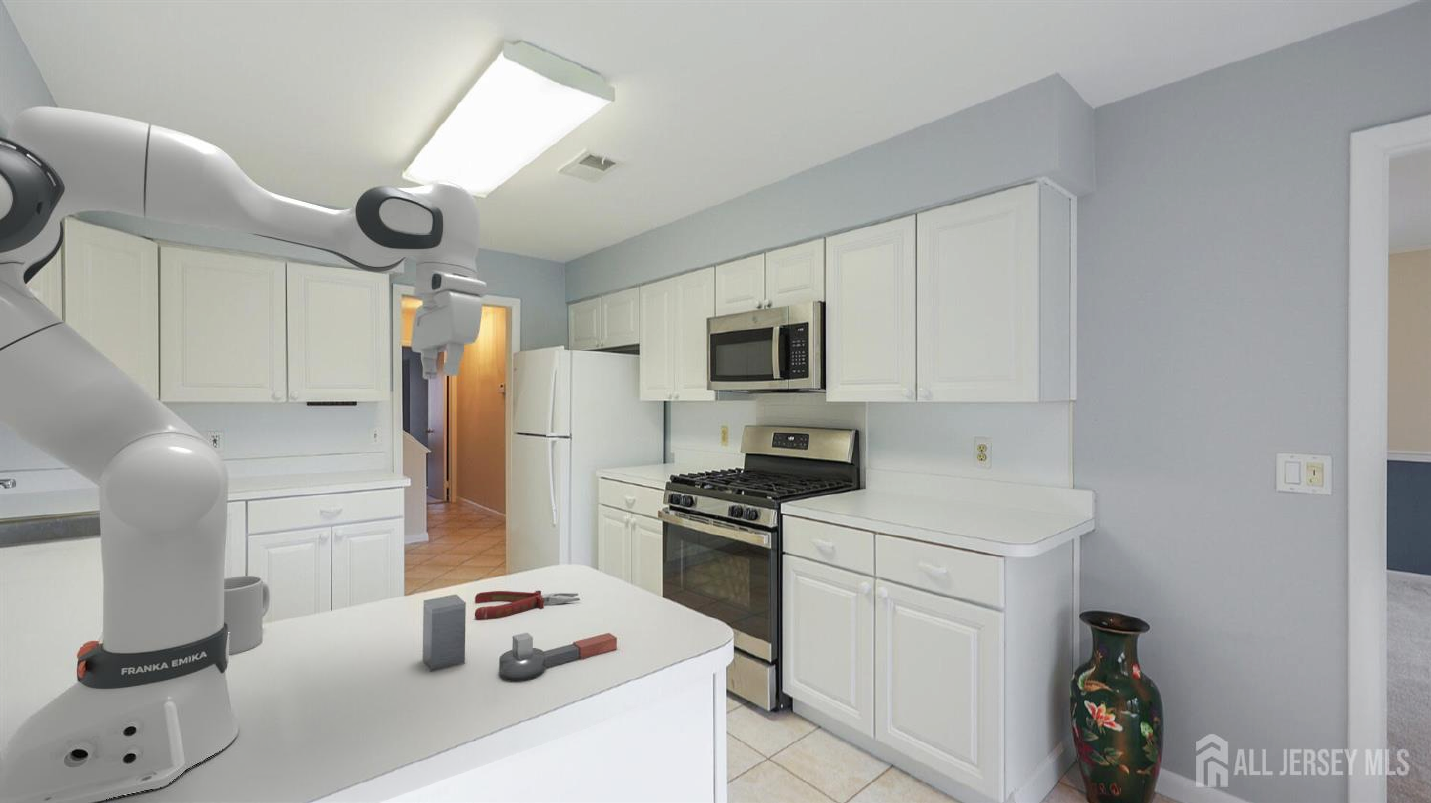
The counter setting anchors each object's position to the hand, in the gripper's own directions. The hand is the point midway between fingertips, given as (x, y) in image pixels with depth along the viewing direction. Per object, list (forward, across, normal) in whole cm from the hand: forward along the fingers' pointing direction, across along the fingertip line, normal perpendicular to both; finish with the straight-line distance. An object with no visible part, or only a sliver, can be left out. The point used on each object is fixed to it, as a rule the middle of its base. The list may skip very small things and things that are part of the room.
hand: (439, 377), depth 95 cm
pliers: (+45, -24, +27) cm, 58 cm away
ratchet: (+46, +4, +21) cm, 51 cm away
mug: (+47, -38, -18) cm, 63 cm away
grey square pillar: (+46, -8, +6) cm, 47 cm away
